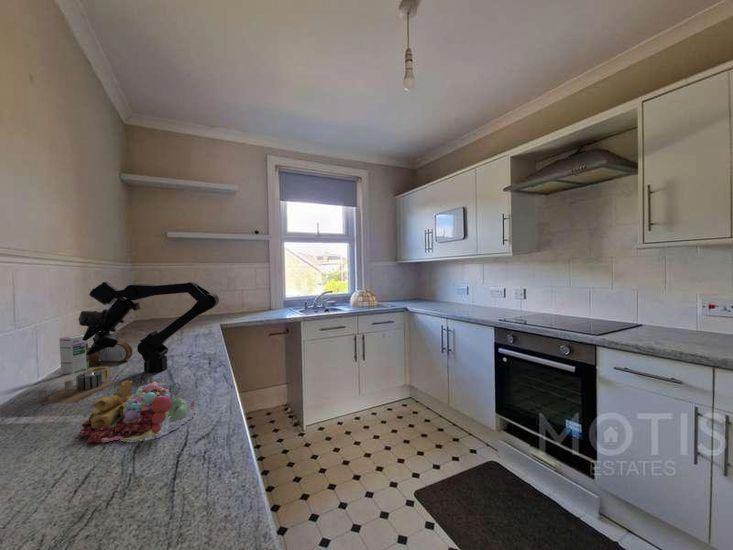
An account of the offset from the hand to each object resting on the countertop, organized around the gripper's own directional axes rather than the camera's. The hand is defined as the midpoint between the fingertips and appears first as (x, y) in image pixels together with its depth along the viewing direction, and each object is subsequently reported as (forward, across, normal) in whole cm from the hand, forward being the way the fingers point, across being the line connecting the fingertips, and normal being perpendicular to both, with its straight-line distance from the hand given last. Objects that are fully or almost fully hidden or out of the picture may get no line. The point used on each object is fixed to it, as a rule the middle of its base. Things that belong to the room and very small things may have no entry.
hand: (85, 347), depth 111 cm
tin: (+10, -13, +19) cm, 25 cm away
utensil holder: (+15, -14, +13) cm, 24 cm away
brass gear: (+6, +10, +7) cm, 13 cm away
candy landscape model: (-12, +52, -1) cm, 53 cm away
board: (+5, +20, -1) cm, 21 cm away
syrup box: (+14, -5, +6) cm, 16 cm away
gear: (+3, +17, +1) cm, 18 cm away
